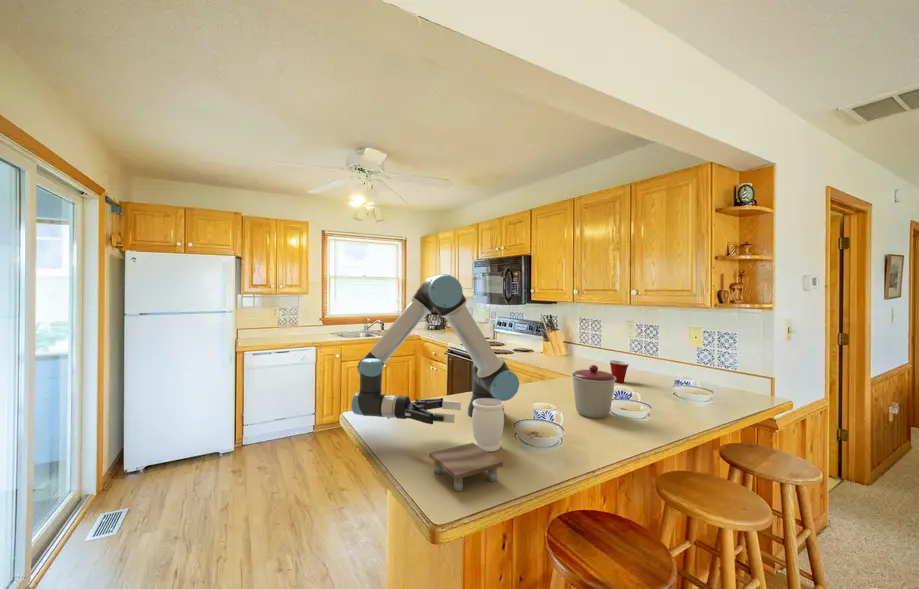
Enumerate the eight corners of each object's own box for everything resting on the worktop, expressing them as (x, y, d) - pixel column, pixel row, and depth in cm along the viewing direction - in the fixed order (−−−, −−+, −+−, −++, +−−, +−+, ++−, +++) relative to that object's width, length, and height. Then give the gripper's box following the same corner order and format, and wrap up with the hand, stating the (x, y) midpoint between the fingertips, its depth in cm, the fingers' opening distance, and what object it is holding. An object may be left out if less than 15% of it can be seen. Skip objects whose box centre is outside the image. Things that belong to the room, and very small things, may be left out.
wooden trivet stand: (428, 470, 110) (429, 452, 110) (472, 459, 118) (472, 442, 118) (455, 495, 98) (455, 474, 97) (502, 480, 105) (502, 462, 105)
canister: (565, 407, 173) (566, 360, 172) (606, 408, 172) (607, 361, 172) (576, 421, 155) (578, 369, 154) (622, 422, 154) (623, 370, 154)
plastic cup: (632, 384, 217) (632, 363, 217) (612, 384, 217) (613, 363, 217) (624, 380, 228) (624, 360, 228) (605, 379, 228) (606, 359, 228)
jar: (503, 441, 132) (504, 398, 132) (503, 454, 122) (504, 407, 122) (472, 439, 133) (473, 397, 133) (470, 452, 123) (471, 406, 123)
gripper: (407, 407, 145) (462, 411, 141) (383, 430, 120) (450, 436, 117) (407, 387, 144) (463, 391, 141) (384, 406, 120) (451, 412, 117)
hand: (457, 412), depth 129 cm, fingers open, 13 cm apart
